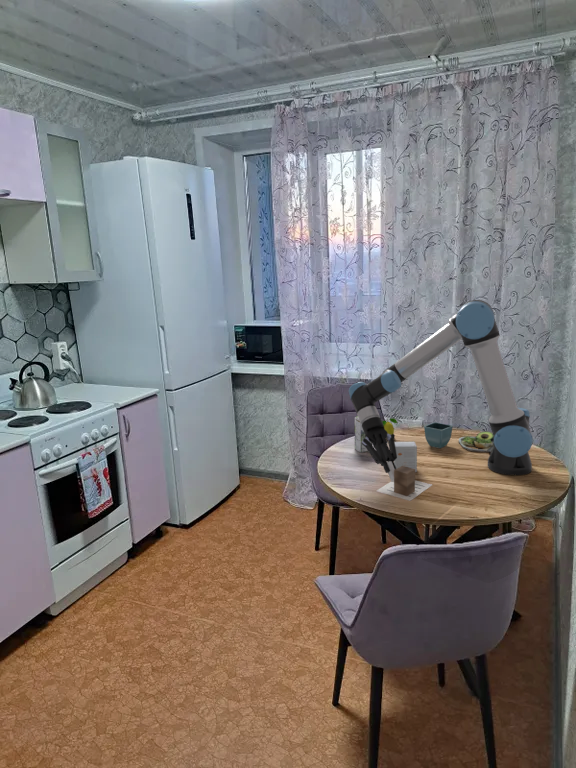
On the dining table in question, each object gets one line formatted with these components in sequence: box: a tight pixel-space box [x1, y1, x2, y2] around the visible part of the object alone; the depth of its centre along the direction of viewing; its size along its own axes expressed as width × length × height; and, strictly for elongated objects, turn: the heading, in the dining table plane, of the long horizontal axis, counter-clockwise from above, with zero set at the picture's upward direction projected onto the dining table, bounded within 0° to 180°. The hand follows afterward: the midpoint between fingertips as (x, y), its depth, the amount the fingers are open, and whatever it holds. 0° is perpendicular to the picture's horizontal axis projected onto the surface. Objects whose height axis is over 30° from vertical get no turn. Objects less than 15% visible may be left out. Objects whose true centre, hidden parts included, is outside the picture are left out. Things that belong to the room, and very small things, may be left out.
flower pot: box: [423, 422, 454, 449], centre depth 215 cm, size 9×9×9 cm
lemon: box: [382, 416, 398, 435], centre depth 229 cm, size 7×6×10 cm
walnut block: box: [394, 466, 416, 496], centre depth 171 cm, size 5×5×8 cm
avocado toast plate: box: [458, 431, 494, 453], centre depth 213 cm, size 19×18×5 cm
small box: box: [394, 441, 418, 473], centre depth 191 cm, size 8×6×10 cm
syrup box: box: [354, 416, 373, 454], centre depth 214 cm, size 6×6×14 cm
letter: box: [376, 479, 433, 502], centre depth 176 cm, size 13×16×1 cm
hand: (394, 480), depth 175 cm, fingers closed
